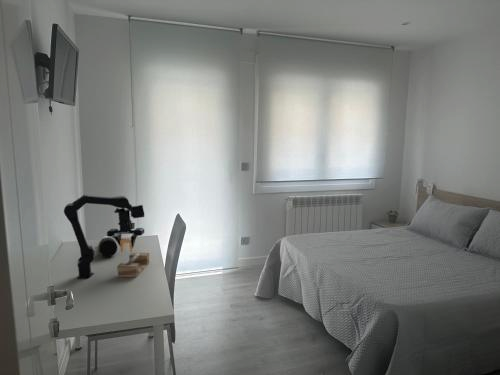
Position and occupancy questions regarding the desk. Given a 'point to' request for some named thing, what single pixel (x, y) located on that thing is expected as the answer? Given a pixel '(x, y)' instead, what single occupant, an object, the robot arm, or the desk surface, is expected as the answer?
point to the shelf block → (133, 265)
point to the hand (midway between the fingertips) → (127, 247)
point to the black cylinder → (107, 246)
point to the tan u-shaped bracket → (124, 244)
